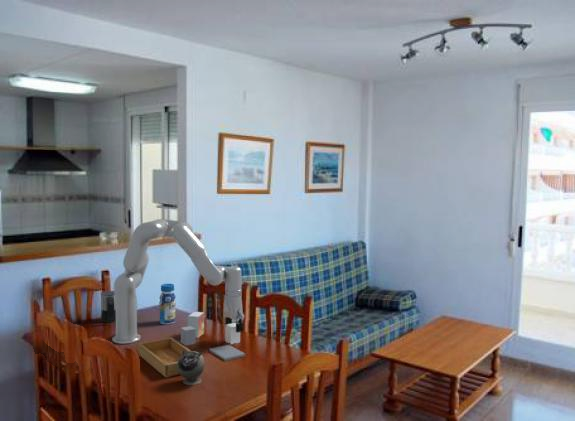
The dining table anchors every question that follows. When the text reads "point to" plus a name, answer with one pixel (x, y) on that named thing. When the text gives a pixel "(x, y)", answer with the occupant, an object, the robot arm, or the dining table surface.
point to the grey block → (188, 335)
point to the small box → (197, 322)
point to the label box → (232, 334)
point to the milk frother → (108, 306)
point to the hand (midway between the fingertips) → (233, 329)
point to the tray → (162, 355)
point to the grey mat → (227, 352)
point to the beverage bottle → (167, 304)
